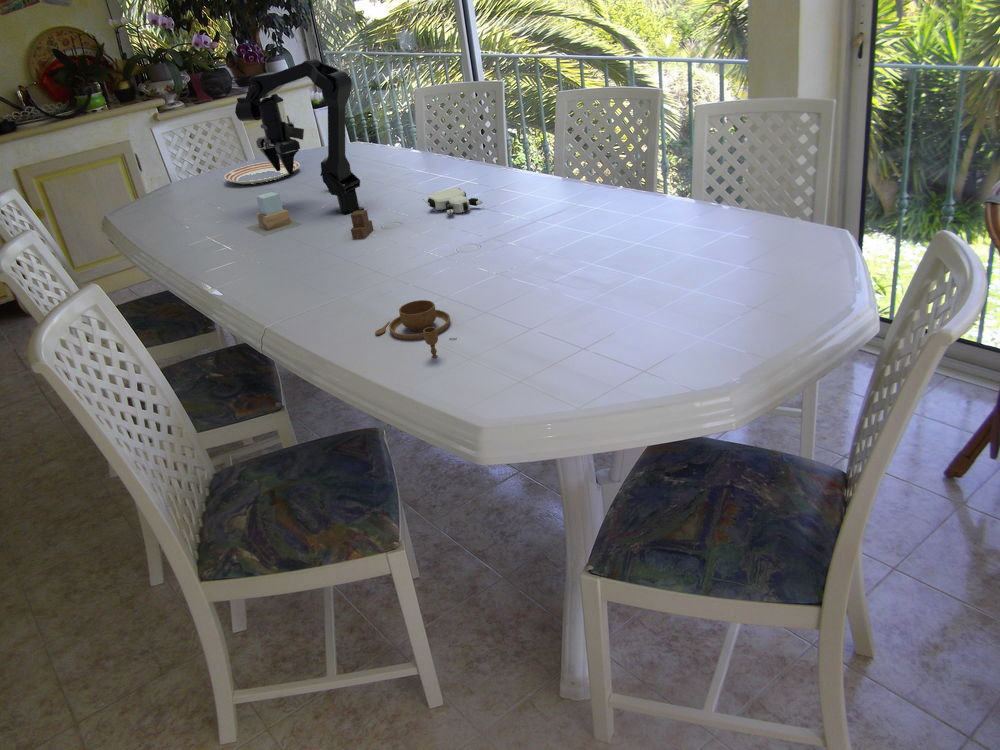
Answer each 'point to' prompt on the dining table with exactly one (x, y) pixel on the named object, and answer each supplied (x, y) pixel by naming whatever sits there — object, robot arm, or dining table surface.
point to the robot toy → (451, 201)
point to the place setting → (419, 322)
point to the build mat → (265, 232)
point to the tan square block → (274, 220)
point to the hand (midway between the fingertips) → (284, 172)
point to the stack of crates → (361, 225)
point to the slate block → (269, 203)
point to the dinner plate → (257, 168)
